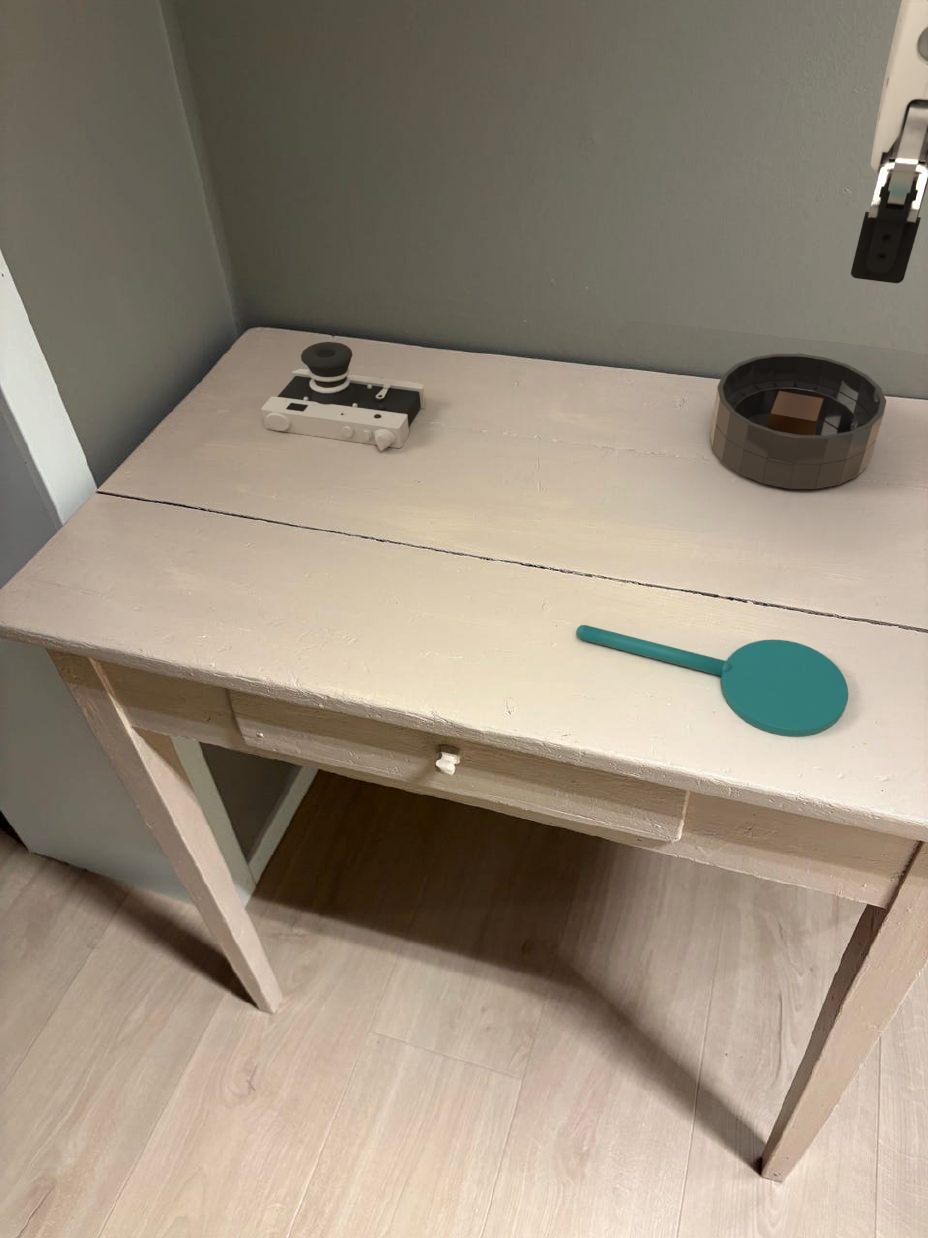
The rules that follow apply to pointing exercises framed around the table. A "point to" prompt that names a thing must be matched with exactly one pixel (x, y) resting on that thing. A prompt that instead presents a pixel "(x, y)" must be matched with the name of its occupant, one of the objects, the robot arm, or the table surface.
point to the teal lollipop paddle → (758, 680)
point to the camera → (343, 401)
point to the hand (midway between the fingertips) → (884, 248)
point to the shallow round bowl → (793, 457)
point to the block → (795, 413)
